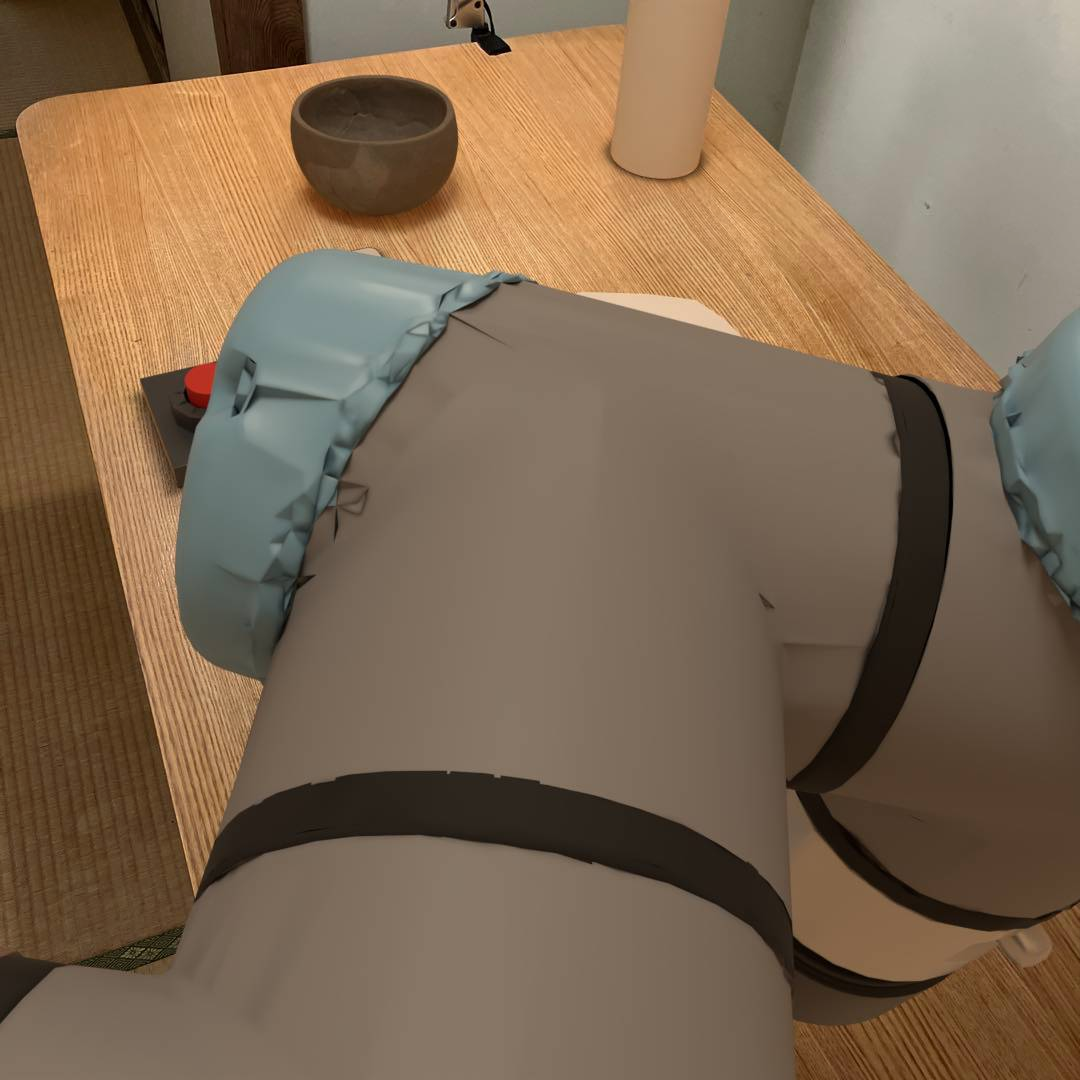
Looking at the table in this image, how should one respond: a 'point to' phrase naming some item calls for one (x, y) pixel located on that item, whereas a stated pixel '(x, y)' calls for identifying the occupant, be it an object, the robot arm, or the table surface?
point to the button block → (173, 417)
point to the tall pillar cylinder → (666, 85)
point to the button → (200, 384)
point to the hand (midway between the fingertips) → (619, 1045)
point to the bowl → (374, 142)
